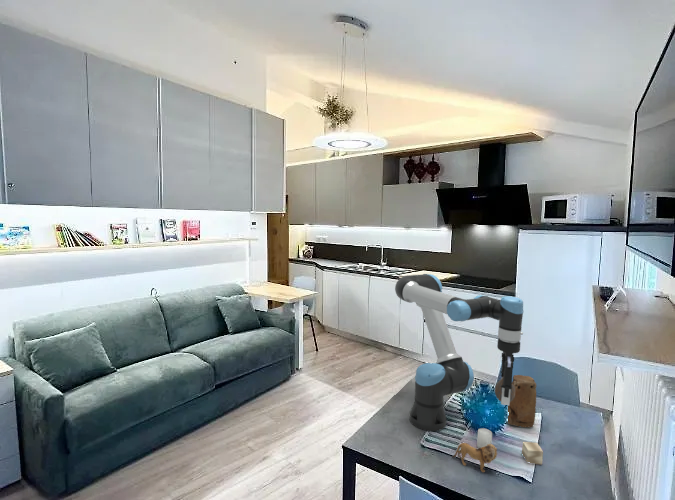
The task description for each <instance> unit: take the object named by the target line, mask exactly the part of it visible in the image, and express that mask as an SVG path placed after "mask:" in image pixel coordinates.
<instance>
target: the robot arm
mask: <svg viewBox="0 0 675 500" xmlns="http://www.w3.org/2000/svg"><path fill="white" fill-rule="evenodd" d="M394 291H395V294H396V296H397V298H399V299H400V300H401V301H404V302H407V303H415V304H416V306H417V307H419V308H420V309H421V311H422V312H421V313H422V315H423V318H424V322H425V325H426V328H427V330H428V334H429V336H430V340H431V343H432V346H433V349H434V351H435V355H436V358H437V360H436V361H435V362H432V363H431V362H427V363H426V362H425V363H422V364H420V365H419V366H418V367H417V368H416V370H415V376H414V401H413V404H412V406H411V407H410V408H411V409H410V411H409V415H408V416H409V422H410V423H411V424H412V425H413V426H414V427H415V428H418V429H420V430H424V431H428V432H437V430H438V431H440V430H443V429H444V428H446V426H447V415H446V411H445V408H444V396H449V395H452V394H456V393H459V392H465V391H466V390H468V389H470V388H471V387H472V385H473V383H474V379H475V376H474V370H473V368H472V366H471V365H470V364H469V363H468V362H466V361H464V359H463V357H462V356H461V355H460V354H459V353H457V351H456V347H455V345H454V342H453V339H452V335H451V334H450V331H449V328H448V324H447V322H446V319H445V317H444V314H446V315H447V316H448V318H450V320H451V321H453V322H465V321H473V320H478V319H485V318H490V319H494V320H497V321H498V331H497V332H498V333H497V349H498V350H499V351H501V370H500V376H501V378H500V380H501V379H502V377H503V376H504V377H503V386H501V387H502V398H501V401H500V404H501V405H503V406H505V405H508V406H509V405H510V392H511V389H512V382H513V369H514V363H515V357H514V355H515V354H519V352H520V351H521V337H522V336H521V335H523V334H524V332H522V324H523V317H524V316H523V314H524V301H523V300H522V298H519V297H516V296H507V295H506V296H502V297H501V298H500V299H498V298H494V297H490V296H489V295H483V294H482V295H481V294H478V295H477V296H475V297H473V298H469V299H467V298H466V299H464V298H461V297H457V296H454V295H452V294H448V293H444V292H443V285H442V282H441V280H440V279H439V277H438V276H436V275H434V274H431V273H423V274H413V275H412V274H410V275H409V274H408V275H404V276H402V277H401V278H399V279H398V280H397V281H396V283H395V287H394Z"/></svg>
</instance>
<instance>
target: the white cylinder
mask: <svg viewBox="0 0 675 500" xmlns="http://www.w3.org/2000/svg"><path fill="white" fill-rule="evenodd" d="M492 442H493V432H492V431H491V430H489V429H487V428H484V427H483V428H482V427H481V428H478V430H477V440H476V447H477V449H478V448H481V447H484V446H487V444H492ZM492 445H493V444H492Z"/></svg>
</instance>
